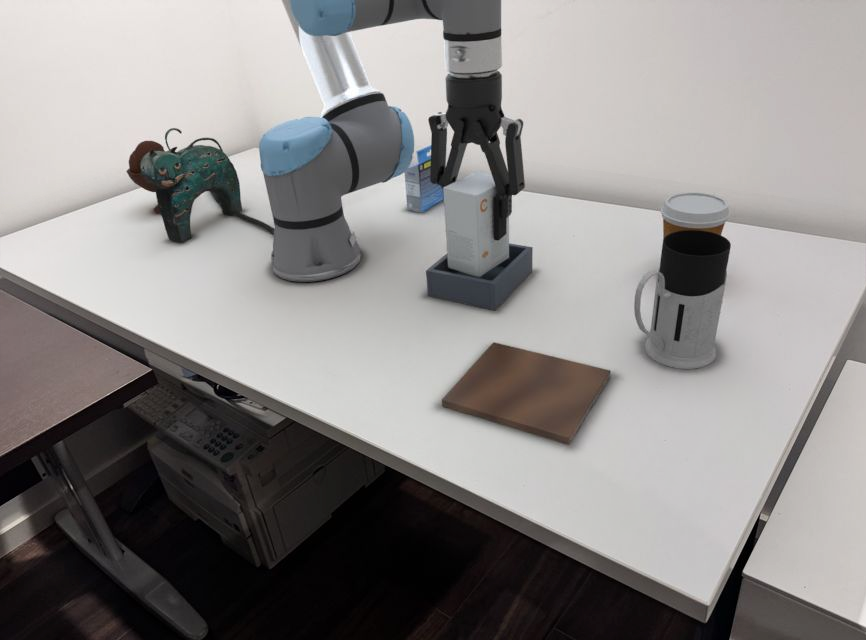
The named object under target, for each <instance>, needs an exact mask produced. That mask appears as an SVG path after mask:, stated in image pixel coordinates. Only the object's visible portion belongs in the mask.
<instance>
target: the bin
mask: <svg viewBox="0 0 866 640" xmlns="http://www.w3.org/2000/svg"><path fill="white" fill-rule="evenodd" d="M533 249H534V248H533V247H532V246H527V245H521V244H515V243H511V242H509V258H508V259H506V260H505V261H503V262H502V263H500V264H499V265H497V266H496V267H494V268H493V269H491V270H490V271H488V272H487V273H485V274H484V275H482V276H481V277H476V276H473V275H470V274H466V273H463V272H460V271H457V270H454V269H451V268H449V267H448V259H447V253H446V254H444V255H443V256H442V257H440V259H438V260H437V261H436V262H435V263H433V264H432V265H431V266H429V267H428V268H426V270H425V276H426V287H427V297H431V298H434V299H440V300H445V301H450V302H453V303H459V304H464V305H467V306H471V307H472V306H473V307H476V308H481V309H486V310H491V311H496V310H498V309H499V308H500V306H502V305H503V303H504V302H505V301H506V300H508V298H510V296H511V295H512V294H513V293H514V292H515V291H516V290H517V289H518V288H519V287H520V286H521V285H522V284H523V283H524V281H526V279H527V278H528V277H529V276H530V275H531V274H532V273H533V254H534V253H533V252H534V251H533Z"/></svg>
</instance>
